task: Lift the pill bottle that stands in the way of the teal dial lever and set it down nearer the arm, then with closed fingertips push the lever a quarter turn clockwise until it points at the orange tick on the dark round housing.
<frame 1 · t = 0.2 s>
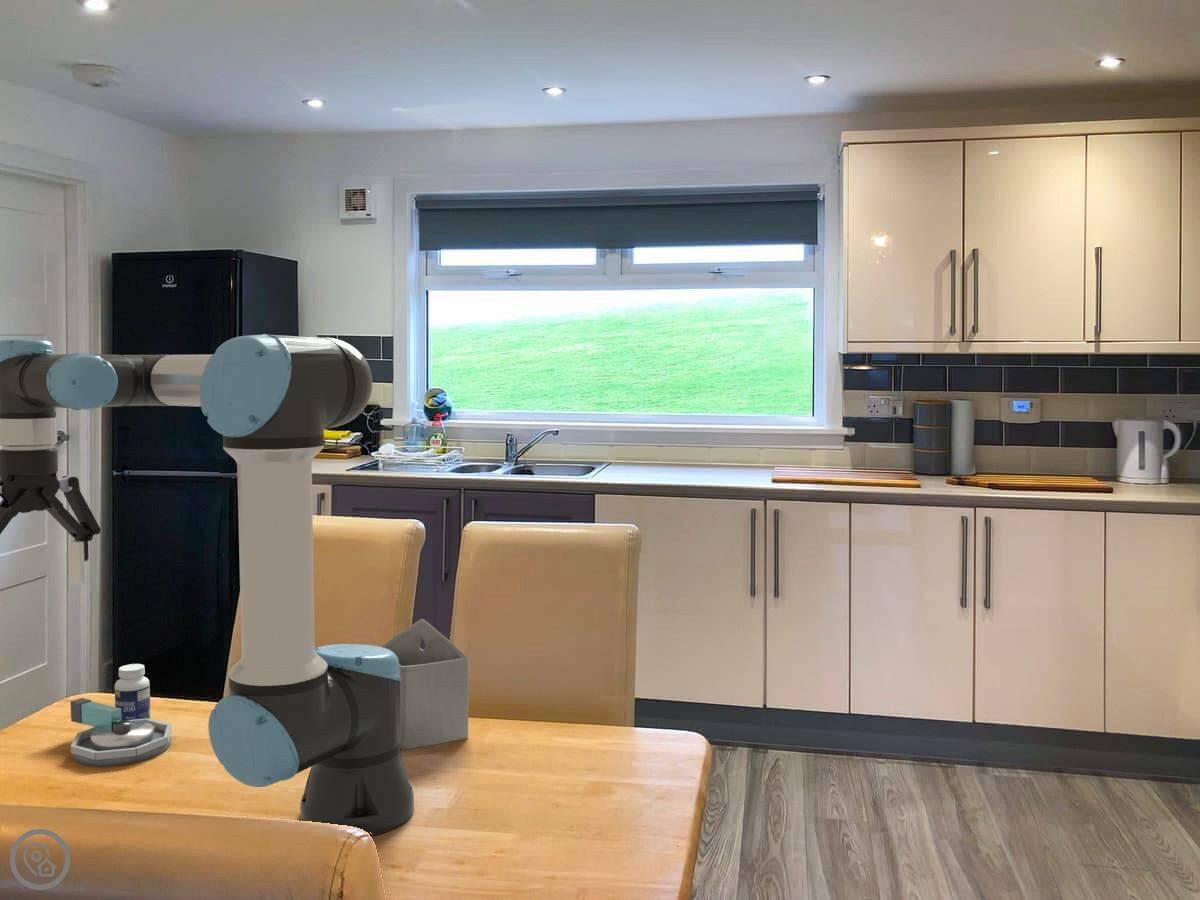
hand: (33, 592, 148), 28 cm above the table, fingers open, 13 cm apart
planter: (413, 742, 165), on the table
dial: (108, 721, 162), point 4 cm above the table, hinge at 0.0°
pill bottle: (133, 724, 172), on the table
housing: (122, 748, 161), on the table
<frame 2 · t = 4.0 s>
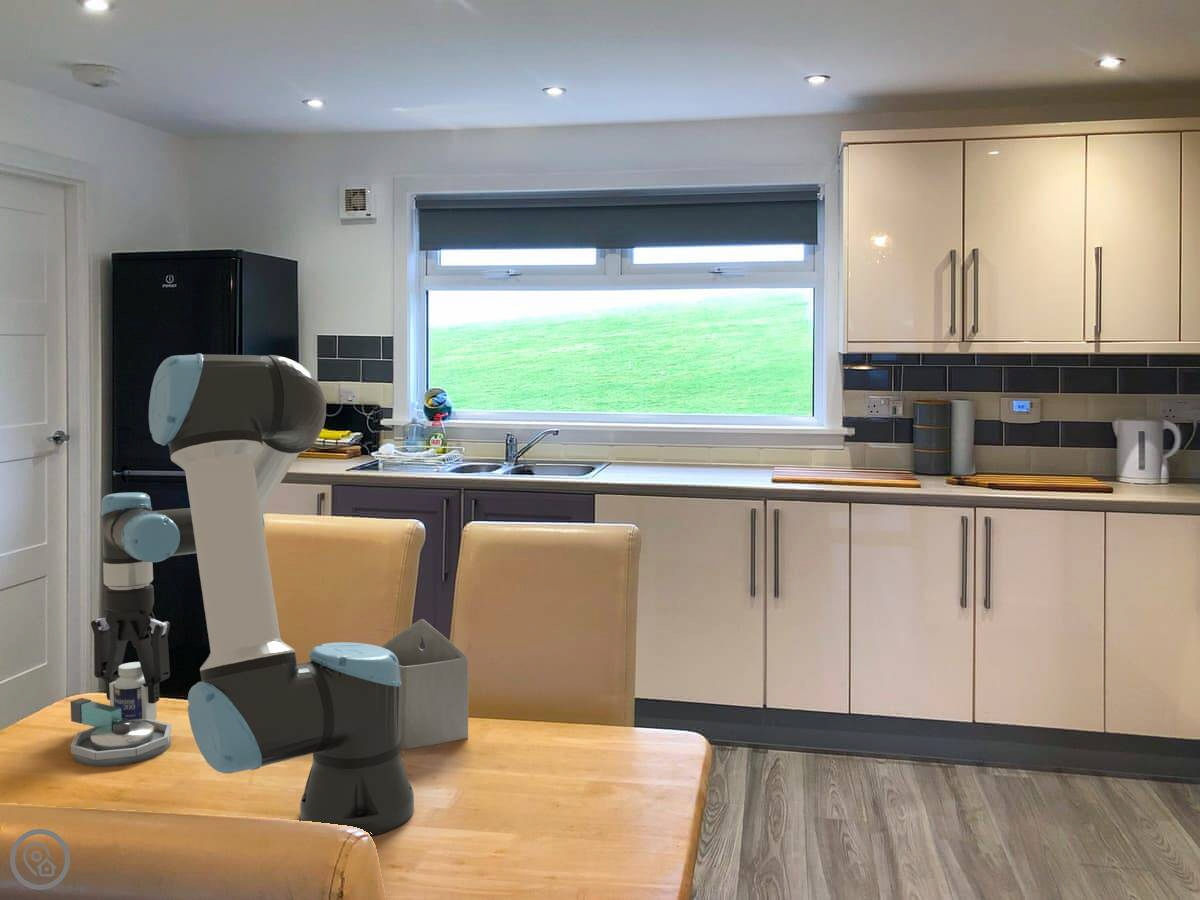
hand: (133, 719, 172), 1 cm above the table, fingers closed on pill bottle, 5 cm apart
pill bottle: (133, 722, 172), on the table, touching gripper
everything else where it was.
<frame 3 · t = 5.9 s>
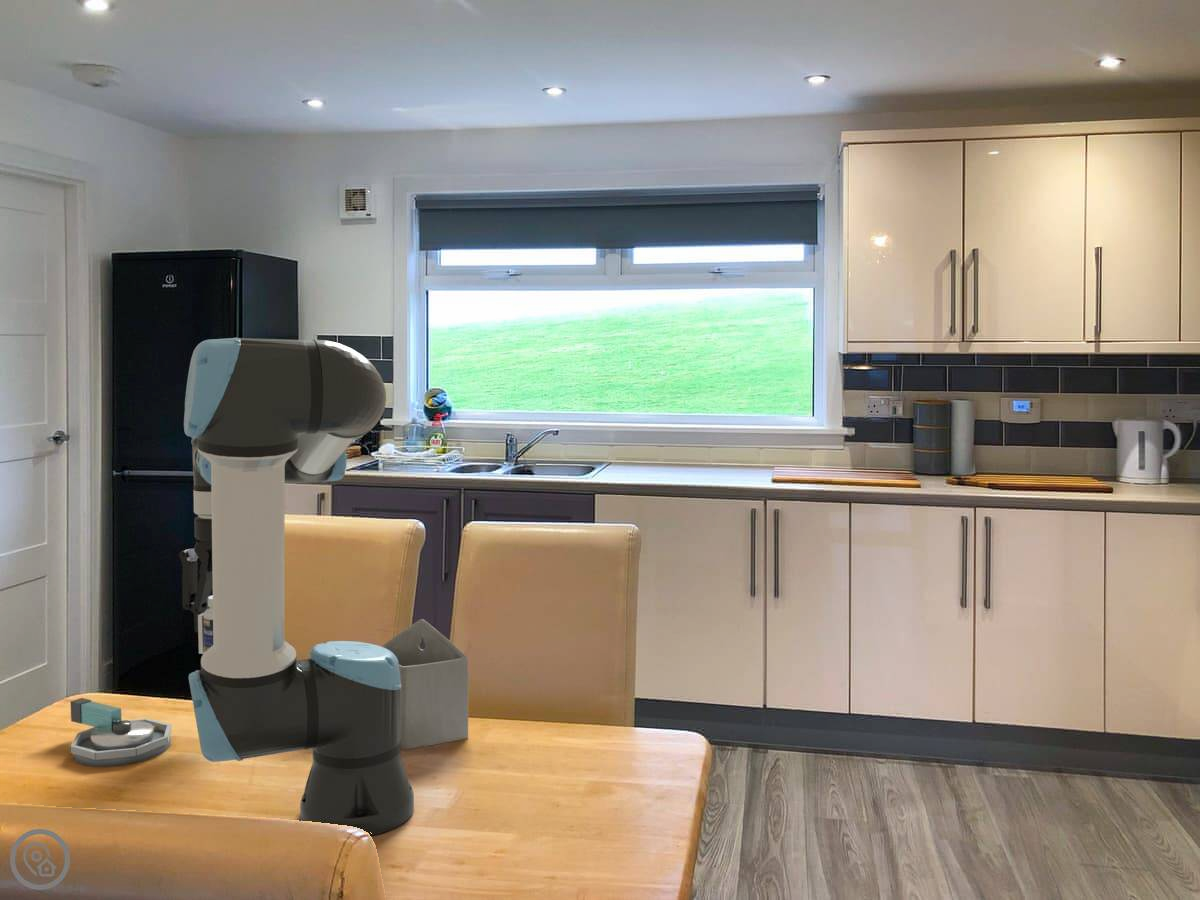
hand: (222, 652, 169), 13 cm above the table, fingers closed on pill bottle, 5 cm apart
pill bottle: (221, 655, 169), point 13 cm above the table, touching gripper
everything else where it was.
when the fingers open (1 cm above the table, at t = 7.8 s): pill bottle drops 1 cm, on the table.
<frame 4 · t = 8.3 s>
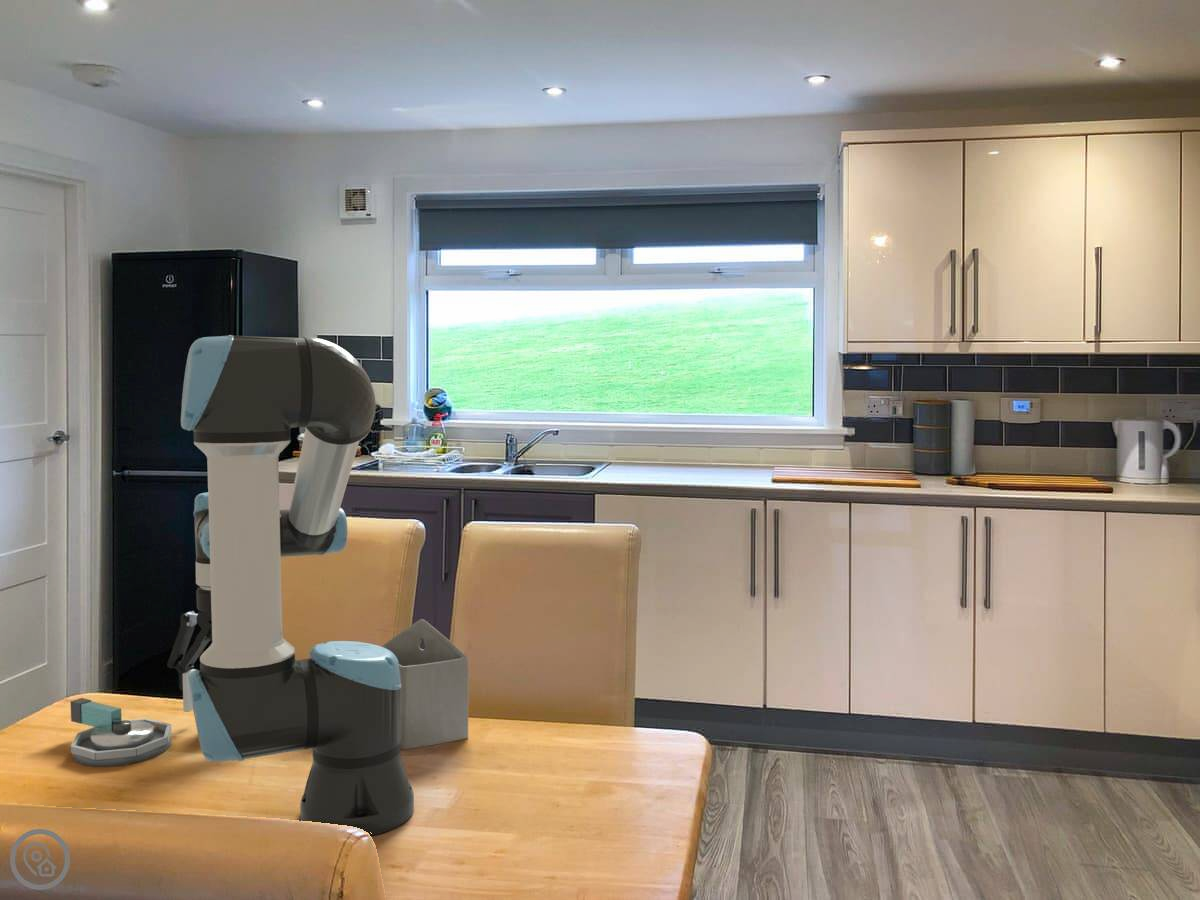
hand: (223, 712, 170), 3 cm above the table, fingers open, 12 cm apart
pill bottle: (224, 730, 170), on the table
everything else where it was.
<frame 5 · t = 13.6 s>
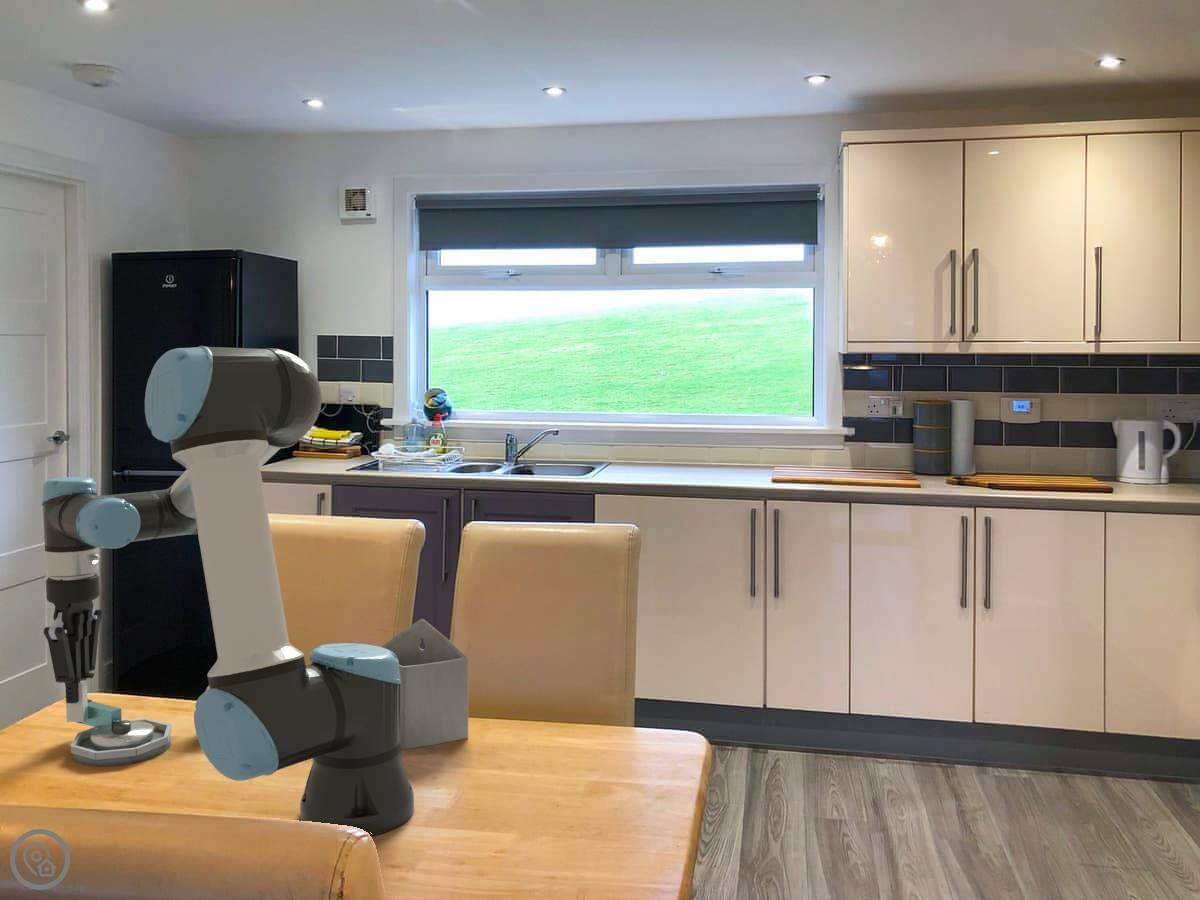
hand: (77, 720, 162), 4 cm above the table, fingers closed
dial: (108, 721, 162), point 4 cm above the table, hinge at -0.4°, touching gripper
everything else where it was.
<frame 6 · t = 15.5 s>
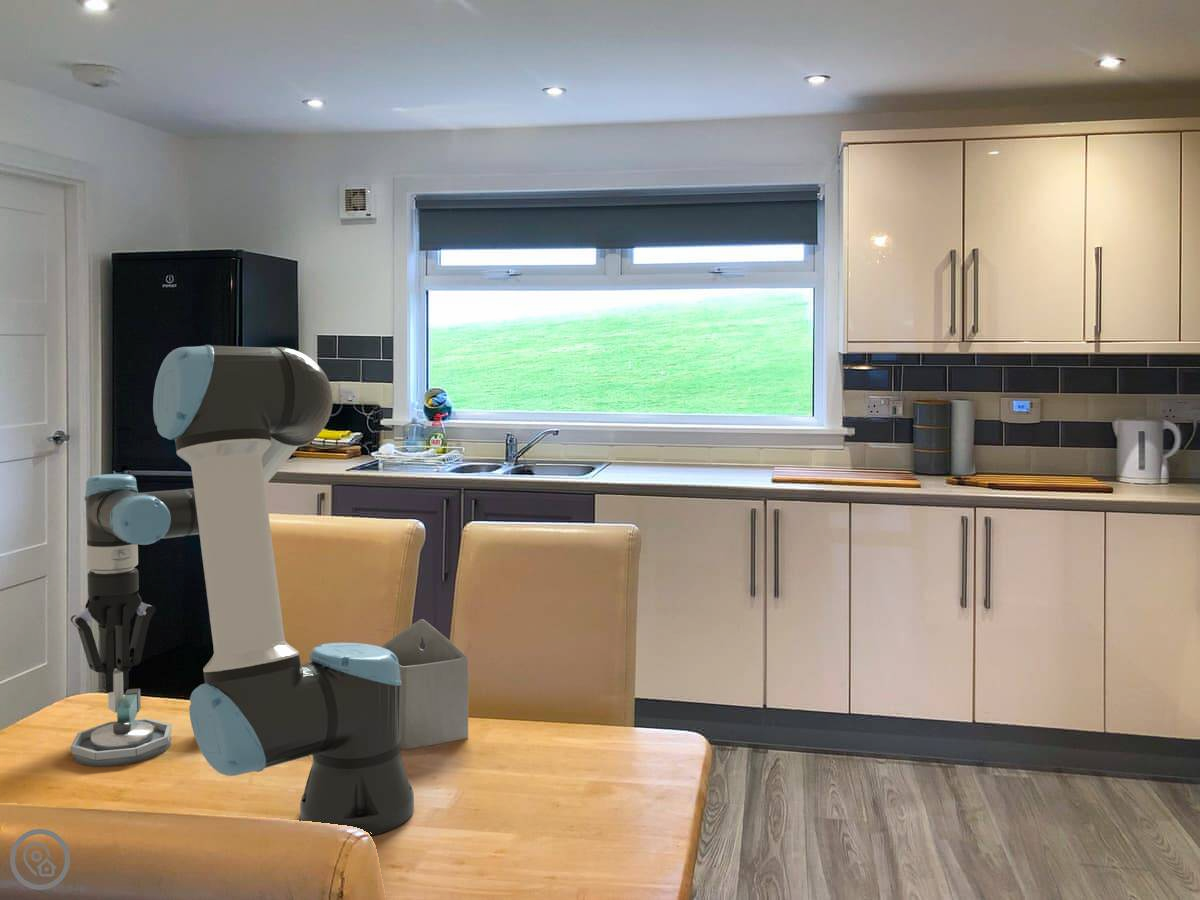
hand: (116, 709, 167), 4 cm above the table, fingers closed
dial: (125, 718, 164), point 4 cm above the table, hinge at -46.9°, touching gripper
everything else where it was.
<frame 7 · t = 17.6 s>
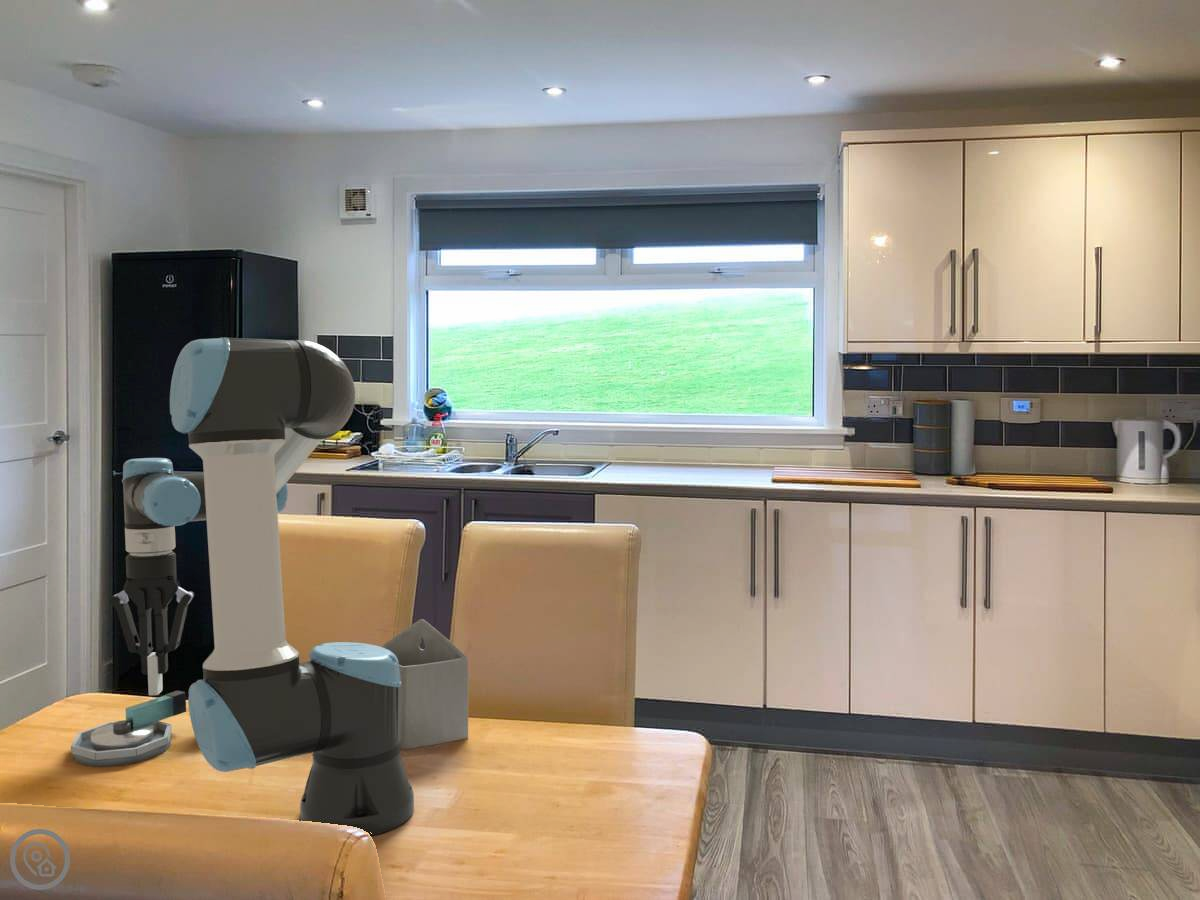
hand: (155, 692, 168), 7 cm above the table, fingers closed
dial: (140, 719, 163), point 4 cm above the table, hinge at -92.5°
everything else where it was.
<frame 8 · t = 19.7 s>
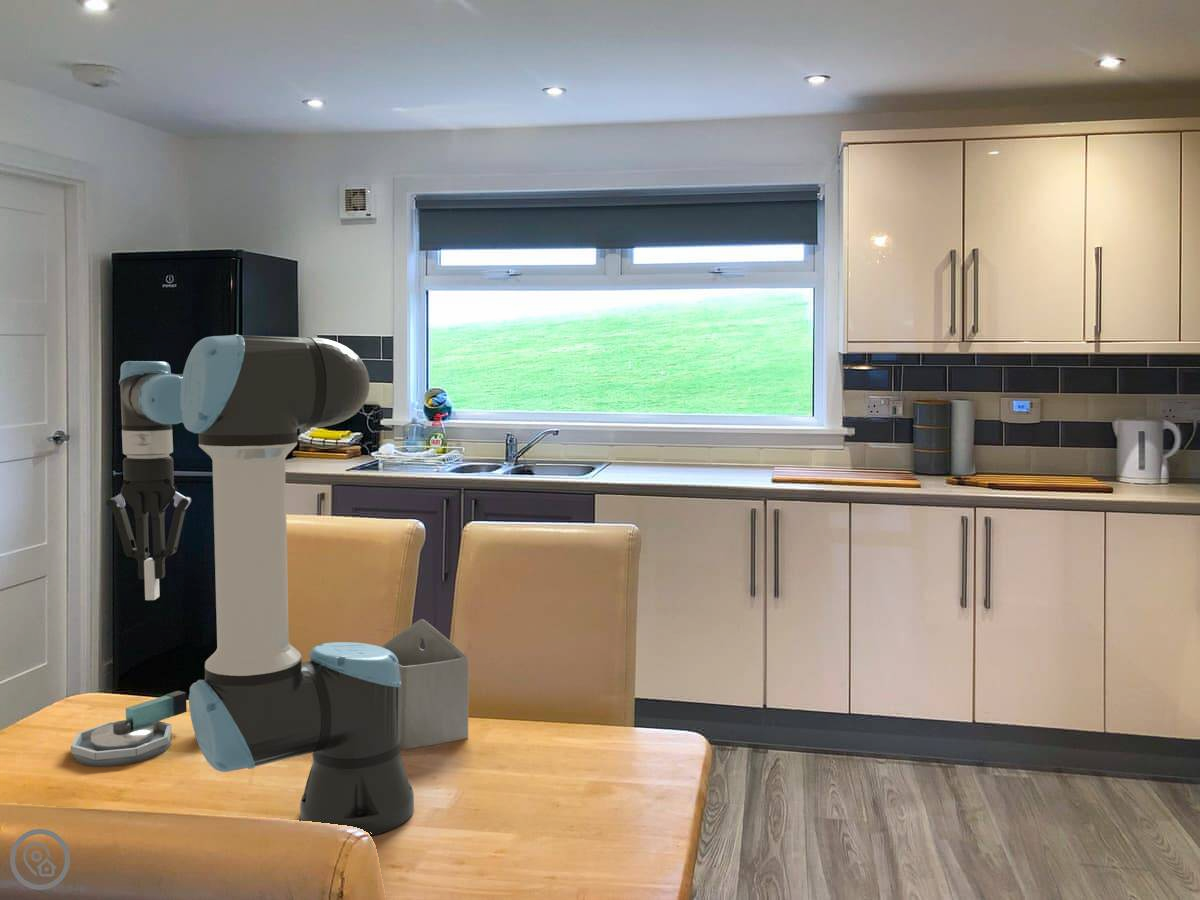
hand: (152, 598, 167), 22 cm above the table, fingers closed
dial: (140, 719, 163), point 4 cm above the table, hinge at -93.1°
everything else where it was.
at the end: dial at -93° (first picture: +0°); pill bottle inside the target area (0.1 cm from its centre), on the table; pill bottle tilted 0° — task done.
